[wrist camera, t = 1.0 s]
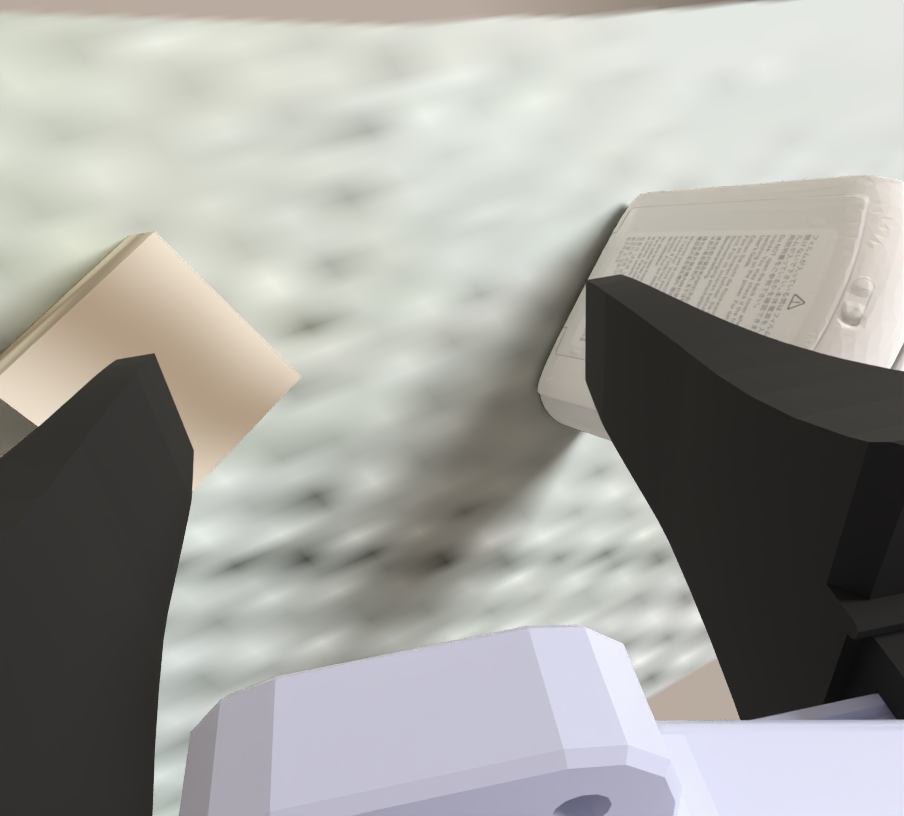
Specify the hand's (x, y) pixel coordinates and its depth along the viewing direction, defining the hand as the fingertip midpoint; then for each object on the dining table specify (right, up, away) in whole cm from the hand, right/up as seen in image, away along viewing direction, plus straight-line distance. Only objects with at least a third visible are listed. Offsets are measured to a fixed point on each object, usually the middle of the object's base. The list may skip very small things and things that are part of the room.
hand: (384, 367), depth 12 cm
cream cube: (-8, +1, +10) cm, 13 cm away
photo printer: (+8, +3, +19) cm, 20 cm away
